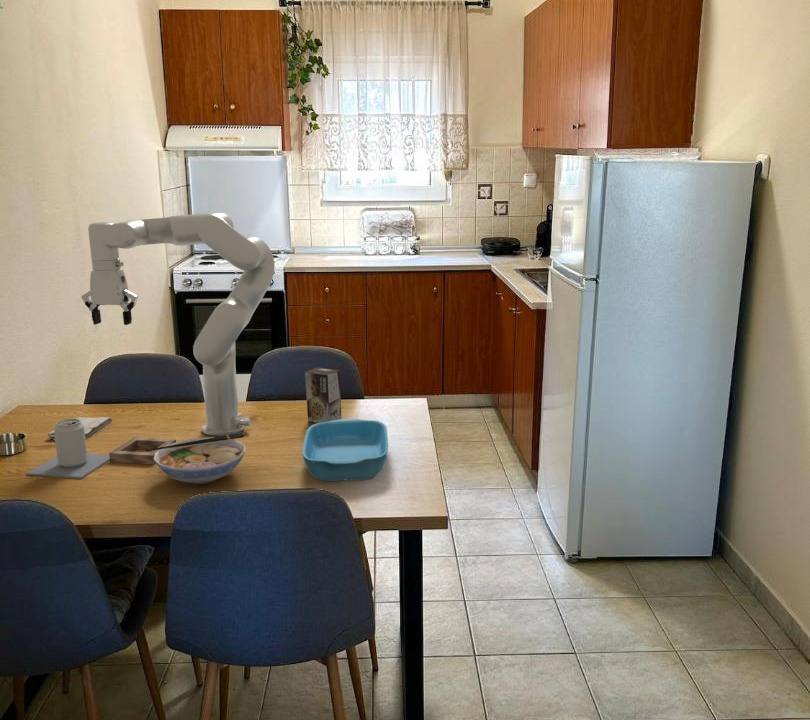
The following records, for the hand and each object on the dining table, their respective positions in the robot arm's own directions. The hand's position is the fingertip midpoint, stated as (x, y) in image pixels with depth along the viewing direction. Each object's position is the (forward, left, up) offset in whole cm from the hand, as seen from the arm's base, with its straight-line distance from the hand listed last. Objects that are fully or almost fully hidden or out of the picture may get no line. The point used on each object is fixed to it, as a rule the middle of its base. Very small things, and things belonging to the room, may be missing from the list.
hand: (112, 323), depth 235 cm
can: (-2, +29, -33) cm, 44 cm away
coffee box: (-58, -19, -33) cm, 69 cm away
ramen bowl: (-41, +32, -33) cm, 62 cm away
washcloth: (+13, +3, -34) cm, 36 cm away
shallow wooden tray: (-17, +18, -33) cm, 41 cm away
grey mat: (-2, +29, -33) cm, 44 cm away
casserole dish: (-74, +15, -34) cm, 83 cm away
